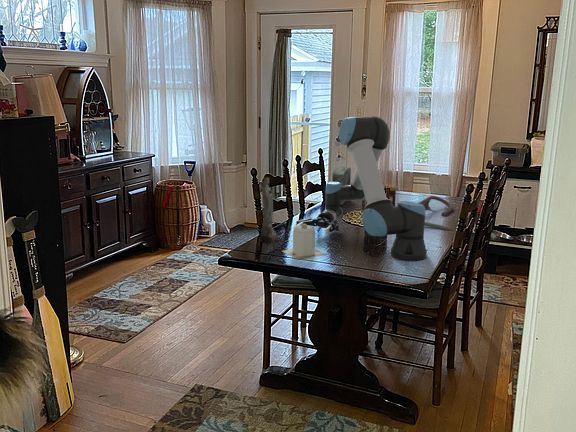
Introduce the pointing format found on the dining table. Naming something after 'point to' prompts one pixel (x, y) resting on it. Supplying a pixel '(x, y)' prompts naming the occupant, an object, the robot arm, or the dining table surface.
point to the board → (290, 252)
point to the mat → (332, 241)
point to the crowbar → (437, 226)
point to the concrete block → (342, 177)
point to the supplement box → (392, 196)
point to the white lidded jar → (304, 240)
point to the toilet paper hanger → (427, 200)
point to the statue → (267, 214)
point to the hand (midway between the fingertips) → (311, 230)
